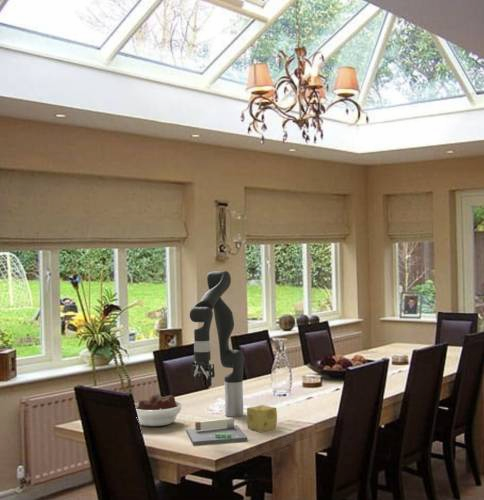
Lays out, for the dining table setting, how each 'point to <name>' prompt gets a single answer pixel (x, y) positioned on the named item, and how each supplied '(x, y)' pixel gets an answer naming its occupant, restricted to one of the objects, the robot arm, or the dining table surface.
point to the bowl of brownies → (158, 410)
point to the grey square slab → (216, 435)
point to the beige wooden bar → (214, 424)
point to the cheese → (261, 418)
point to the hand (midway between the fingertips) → (203, 385)
